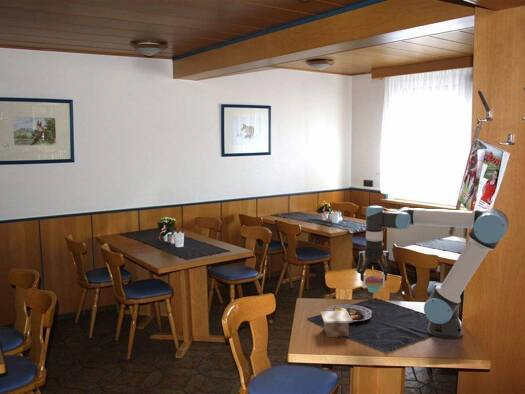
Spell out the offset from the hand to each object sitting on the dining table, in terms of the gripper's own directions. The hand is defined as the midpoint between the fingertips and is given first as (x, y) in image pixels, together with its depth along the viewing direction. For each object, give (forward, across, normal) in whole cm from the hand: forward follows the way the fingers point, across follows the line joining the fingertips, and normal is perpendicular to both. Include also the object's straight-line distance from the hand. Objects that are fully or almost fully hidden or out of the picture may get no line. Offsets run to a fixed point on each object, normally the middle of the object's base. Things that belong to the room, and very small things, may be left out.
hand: (373, 287), depth 243 cm
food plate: (+22, +8, -21) cm, 31 cm away
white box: (+21, +17, 0) cm, 28 cm away
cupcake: (+2, 0, 0) cm, 2 cm away
